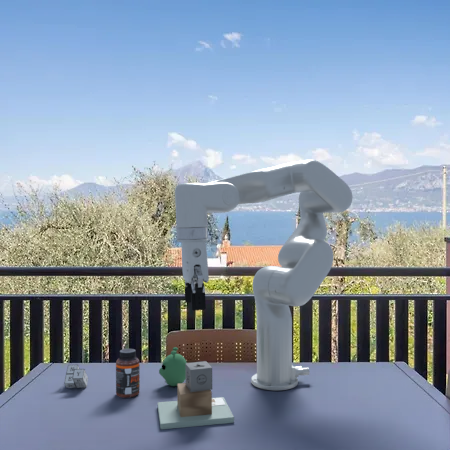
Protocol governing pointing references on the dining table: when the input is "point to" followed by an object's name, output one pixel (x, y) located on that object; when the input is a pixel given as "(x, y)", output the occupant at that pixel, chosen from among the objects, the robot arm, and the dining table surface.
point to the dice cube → (198, 376)
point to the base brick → (193, 401)
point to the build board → (172, 418)
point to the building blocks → (75, 377)
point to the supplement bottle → (127, 374)
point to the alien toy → (173, 368)
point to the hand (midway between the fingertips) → (195, 305)
